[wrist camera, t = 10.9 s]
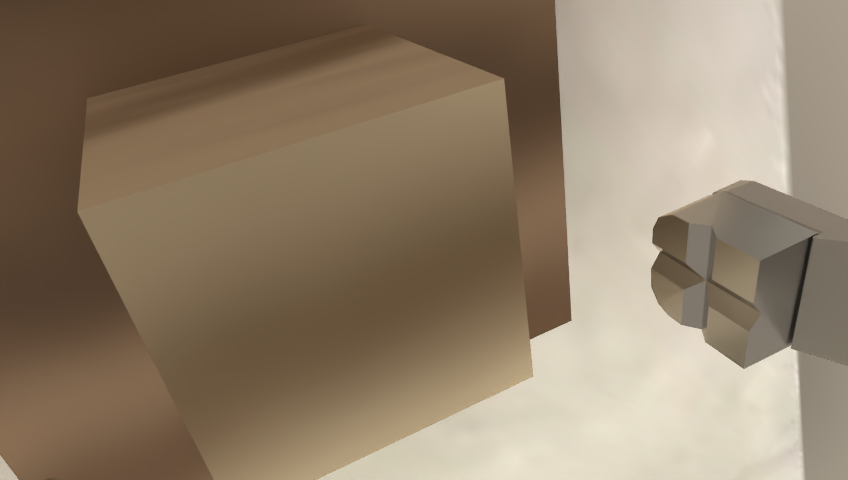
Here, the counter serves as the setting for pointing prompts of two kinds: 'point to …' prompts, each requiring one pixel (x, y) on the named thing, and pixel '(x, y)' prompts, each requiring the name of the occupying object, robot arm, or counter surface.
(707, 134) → the counter surface
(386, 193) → the beech cube
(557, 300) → the plinth
